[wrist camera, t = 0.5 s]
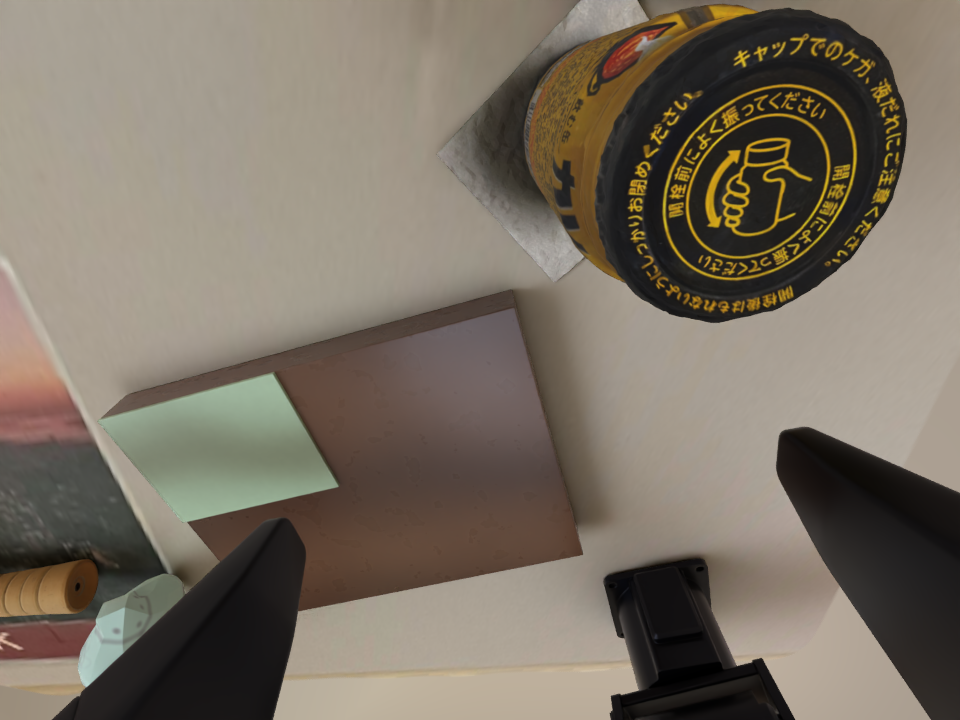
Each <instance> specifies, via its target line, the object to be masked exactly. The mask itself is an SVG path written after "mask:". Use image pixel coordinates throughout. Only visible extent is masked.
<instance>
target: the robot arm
mask: <svg viewBox="0 0 960 720" xmlns="http://www.w3.org/2000/svg"><path fill="white" fill-rule="evenodd" d="M776 470H777V475H778V477H779V480H780V482H781V484H782V486H783V487H784V489H785V491H786V493H787V495H788V497H789V499H790V501H791V502H792V504H793V506H794V508H795V510H796V512H797V514H798V515H799V517H800V519H801V521H802V523H803V525H804V527H805V528H806V530H807V532H808V534H809V536H810V538H811V540H812V542H813V543H814V545H815V547H816V549H817V551H818V552H819V554H820V556H821V558H822V559H823V561H824V563H825V564H826V566H827V567H828V569H829V570H830V572H831V573H832V575H833V576H834V578H835V579H836V581H837V582H838V584H839V585H840V587H841V588H842V590H843V591H844V593H845V594H846V595H847V597H848V598H849V600H850V601H851V603H852V604H853V606H854V607H855V609H856V610H857V612H858V613H859V614H860V616H861V618H862V619H863V620H864V622H865V623H866V625H867V626H868V628H869V629H870V630H871V632H872V634H873V635H874V637H875V638H876V640H877V641H878V642H879V644H880V645H881V647H882V648H883V650H884V651H885V653H886V654H887V655H888V657H889V659H890V660H891V661H892V663H893V664H894V666H895V667H896V669H897V670H898V672H899V673H900V675H901V676H902V678H903V679H904V681H905V682H906V683H907V685H908V686H909V688H910V689H911V691H912V692H913V694H914V695H915V697H916V698H917V700H918V701H919V703H920V704H921V706H922V707H923V708H924V710H925V711H926V713H927V714H928V716H929V717H930V719H931V720H960V493H959V492H956V491H954V490H952V489H949V488H947V487H945V486H943V485H940V484H938V483H936V482H934V481H931V480H929V479H927V478H924V477H922V476H919V475H917V474H915V473H913V472H911V471H908V470H906V469H904V468H902V467H899V466H897V465H895V464H892V463H890V462H888V461H886V460H883V459H881V458H879V457H876V456H874V455H872V454H870V453H867V452H865V451H863V450H860V449H858V448H856V447H854V446H851V445H849V444H847V443H844V442H842V441H840V440H837V439H835V438H833V437H831V436H828V435H826V434H824V433H821V432H819V431H817V430H815V429H812V428H809V427H799V428H793V429H788V430H784V431H782V432H781V433H780V435H779V440H778V451H777V462H776ZM305 562H306V549H305V545H304V543H303V542H302V540H301V538H300V536H299V535H298V533H297V531H296V530H295V528H294V526H293V524H292V523H291V521H290V520H289V519H288V518H286V517H281V518H275V519H269V520H266V521H264V522H263V523H261V524H260V525H259V526H258V527H257V528H256V529H255V530H254V531H253V532H252V533H251V534H250V535H249V536H247V537H246V538H245V539H244V540H243V541H242V542H241V543H240V544H239V545H238V546H237V547H236V548H235V549H234V550H233V551H231V552H230V553H229V554H228V555H227V556H226V557H225V558H224V559H223V560H222V561H221V562H220V563H219V564H218V565H217V566H215V567H214V568H213V569H212V570H211V571H210V572H209V573H208V574H207V575H206V576H205V577H204V578H203V579H202V580H201V581H199V582H198V583H197V584H196V585H195V586H194V587H193V588H192V589H191V590H190V591H189V592H188V593H187V594H186V595H185V596H183V597H182V598H181V599H180V600H179V601H178V602H177V603H176V604H175V605H174V606H173V607H172V608H171V609H170V610H168V611H167V612H166V613H165V614H164V615H163V616H162V617H161V618H160V619H159V620H158V621H157V622H156V623H155V624H154V625H152V626H151V627H150V628H149V629H148V630H147V631H146V632H145V633H144V634H143V635H142V636H141V637H140V638H139V639H138V640H136V641H135V642H134V643H133V644H132V645H131V646H130V647H129V648H128V649H127V650H126V651H125V652H124V653H123V654H122V655H120V656H119V657H118V658H117V659H116V660H115V661H114V662H113V663H112V664H111V665H110V666H109V667H108V668H107V669H106V670H104V671H103V672H102V673H101V674H100V675H99V676H98V677H97V678H96V679H95V680H94V681H93V682H92V683H91V684H90V685H88V686H87V687H86V688H85V689H84V690H83V691H82V692H81V695H80V696H78V697H76V698H74V699H73V700H72V701H71V702H70V703H69V704H68V705H67V706H66V707H65V708H64V709H63V710H62V711H61V712H60V713H59V714H58V715H56V716H55V717H54V718H53V719H52V720H273V717H274V713H275V709H276V705H277V701H278V698H279V694H280V690H281V686H282V682H283V678H284V674H285V670H286V666H287V662H288V659H289V655H290V651H291V646H292V642H293V638H294V632H295V627H296V621H297V614H298V608H299V601H300V595H301V588H302V582H303V575H304V569H305ZM604 585H605V589H606V593H607V597H608V601H609V605H610V609H611V613H612V617H613V621H614V625H615V628H616V632H617V636H618V637H620V638H625V641H626V645H627V649H628V652H629V656H630V660H631V663H632V667H633V671H634V674H635V678H636V682H637V685H638V689H639V691H636V692H632V693H628V694H624V695H620V694H616V695H612V696H611V701H612V708H613V710H612V711H611V713H610V717H611V720H795V718H794V717H793V715H792V713H791V711H790V709H789V707H788V705H787V704H786V702H785V700H784V698H783V696H782V694H781V692H780V691H779V689H778V687H777V685H776V683H775V681H774V679H773V678H772V676H771V674H770V672H769V670H768V668H767V666H766V665H765V663H764V661H763V659H762V658H759V659H755V660H752V663H748V664H744V665H740V666H737V665H736V663H735V661H734V659H733V657H732V654H731V652H730V650H729V648H728V646H727V643H726V641H725V639H724V637H723V635H722V632H721V630H720V628H719V626H718V623H717V621H716V619H715V617H714V615H713V612H712V610H711V599H710V587H709V576H708V567H707V565H706V563H705V561H704V560H703V559H693V560H687V561H682V562H677V563H672V564H666V565H661V566H656V567H651V568H646V569H640V570H635V571H630V572H625V573H619V574H614V575H609V576H607V577H605V578H604Z"/></svg>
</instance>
